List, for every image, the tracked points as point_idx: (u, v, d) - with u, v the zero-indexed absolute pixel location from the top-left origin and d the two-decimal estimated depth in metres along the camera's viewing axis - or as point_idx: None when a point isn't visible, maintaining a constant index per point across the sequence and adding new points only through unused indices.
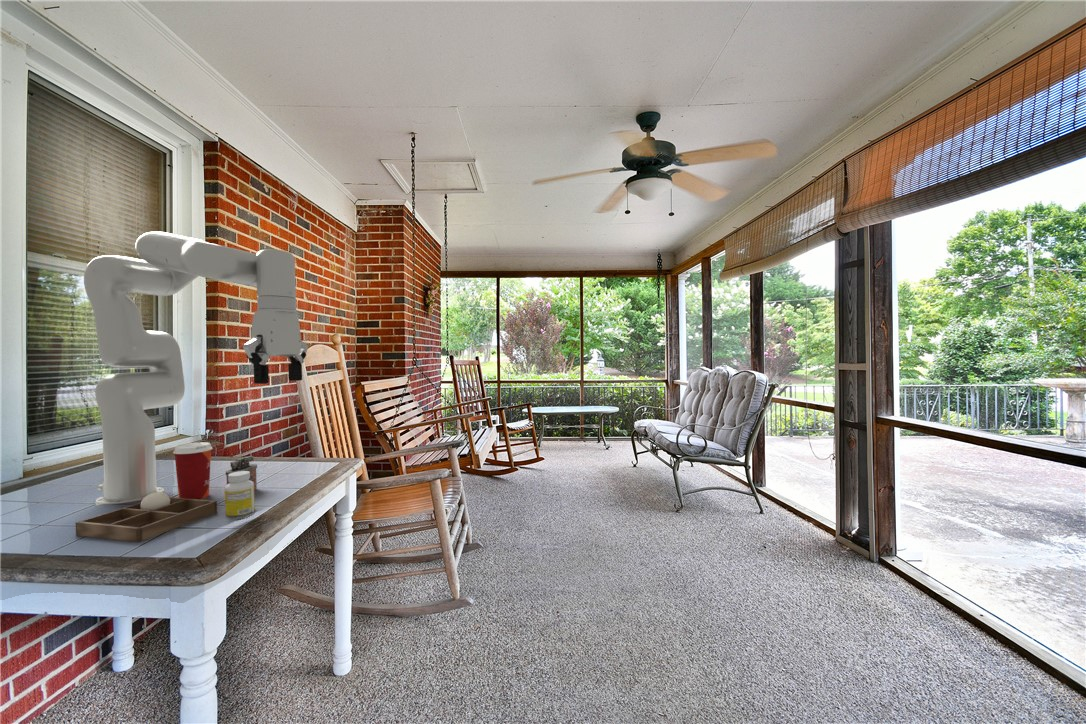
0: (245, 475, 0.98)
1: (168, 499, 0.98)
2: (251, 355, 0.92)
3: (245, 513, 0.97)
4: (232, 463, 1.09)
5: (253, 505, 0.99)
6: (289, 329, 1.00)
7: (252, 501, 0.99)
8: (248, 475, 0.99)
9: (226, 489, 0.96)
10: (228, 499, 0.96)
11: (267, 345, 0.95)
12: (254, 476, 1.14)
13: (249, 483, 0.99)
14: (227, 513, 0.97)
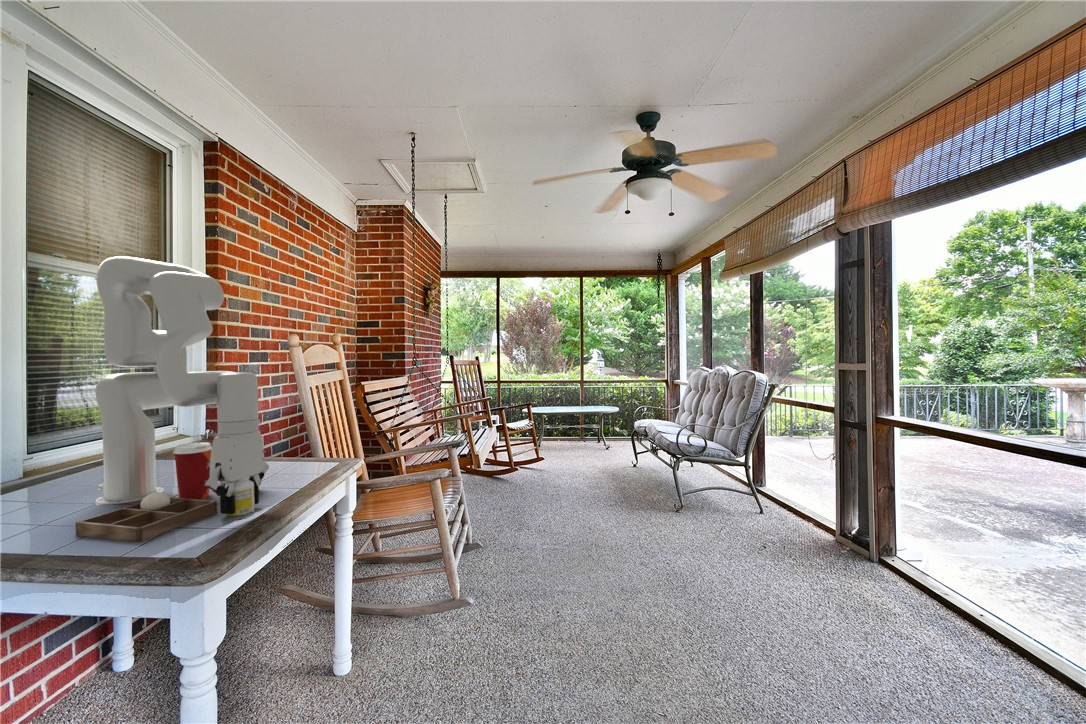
0: None
1: (168, 499, 0.98)
2: (217, 490, 0.93)
3: (245, 513, 0.97)
4: None
5: (253, 505, 0.99)
6: (250, 451, 0.99)
7: (252, 501, 0.99)
8: None
9: None
10: None
11: (226, 473, 0.94)
12: None
13: (249, 483, 0.99)
14: None
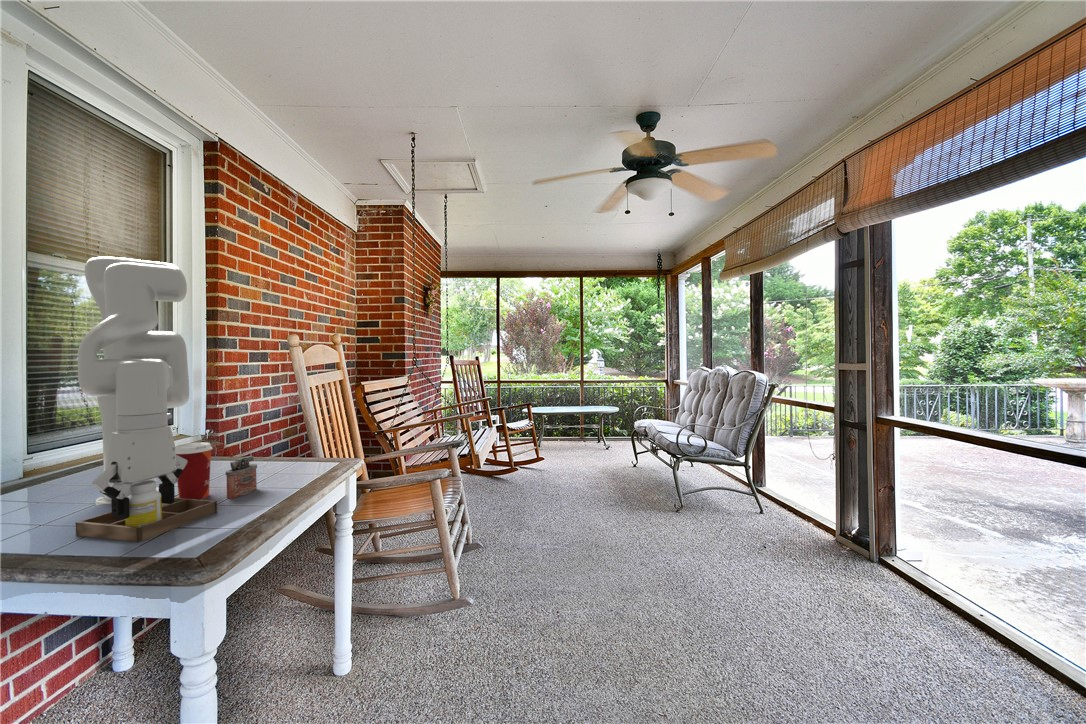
0: (149, 485, 0.87)
1: None
2: (104, 491, 0.81)
3: None
4: (232, 463, 1.09)
5: (159, 519, 0.89)
6: (156, 448, 0.88)
7: (158, 514, 0.88)
8: (153, 485, 0.88)
9: None
10: None
11: (123, 474, 0.83)
12: (254, 476, 1.14)
13: (154, 494, 0.88)
14: None
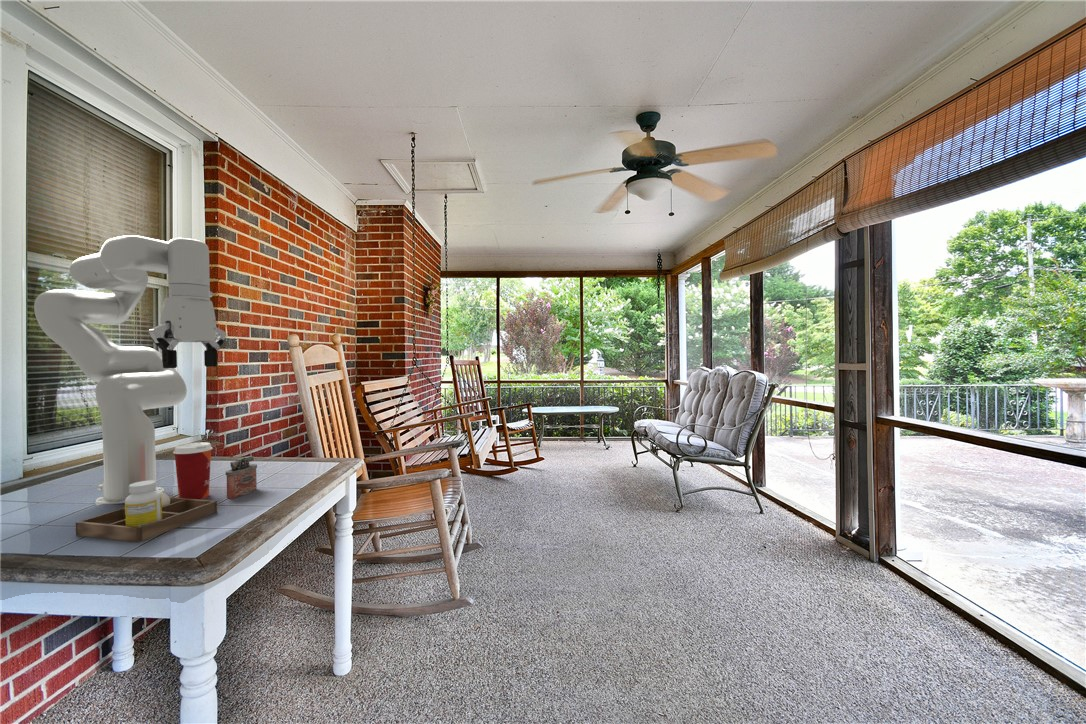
0: (149, 485, 0.87)
1: (168, 499, 0.98)
2: (157, 340, 0.95)
3: None
4: (232, 463, 1.09)
5: (159, 519, 0.89)
6: (201, 316, 1.03)
7: (158, 514, 0.88)
8: (153, 485, 0.88)
9: (126, 501, 0.86)
10: (128, 512, 0.85)
11: (175, 331, 0.98)
12: (254, 476, 1.14)
13: (154, 494, 0.88)
14: None
